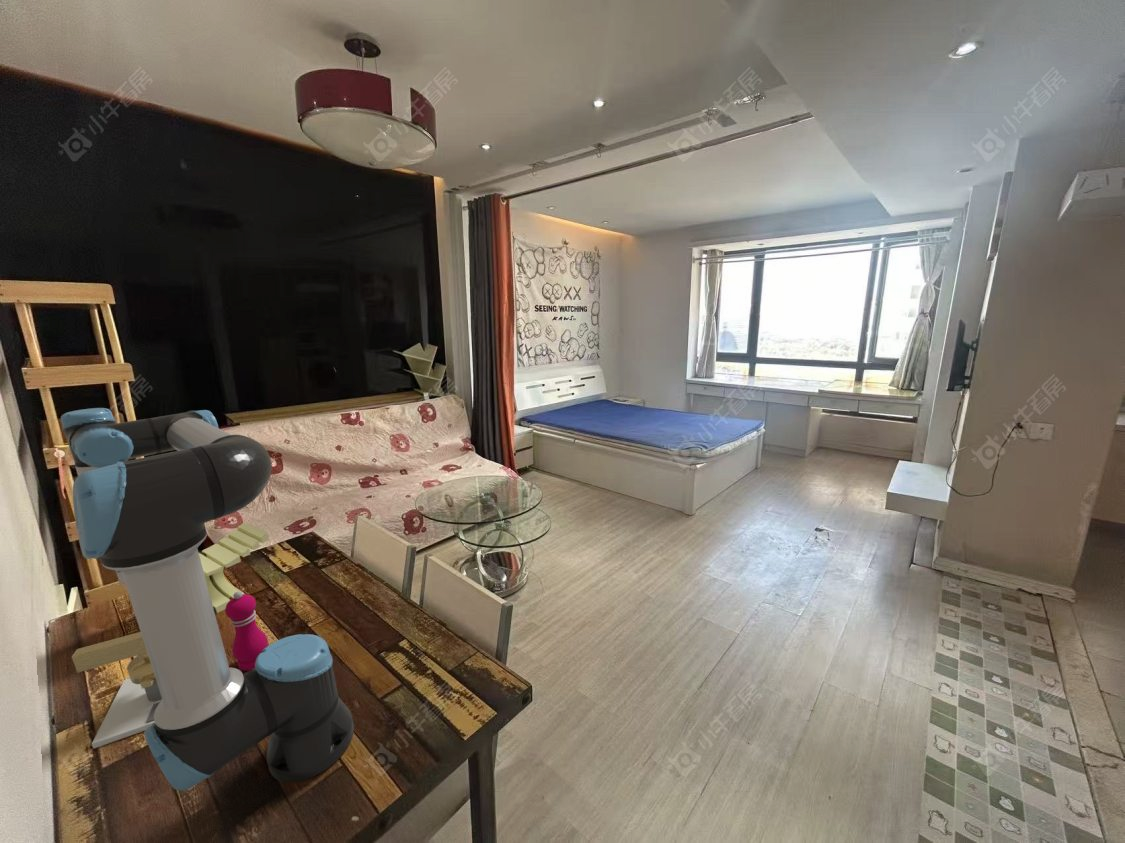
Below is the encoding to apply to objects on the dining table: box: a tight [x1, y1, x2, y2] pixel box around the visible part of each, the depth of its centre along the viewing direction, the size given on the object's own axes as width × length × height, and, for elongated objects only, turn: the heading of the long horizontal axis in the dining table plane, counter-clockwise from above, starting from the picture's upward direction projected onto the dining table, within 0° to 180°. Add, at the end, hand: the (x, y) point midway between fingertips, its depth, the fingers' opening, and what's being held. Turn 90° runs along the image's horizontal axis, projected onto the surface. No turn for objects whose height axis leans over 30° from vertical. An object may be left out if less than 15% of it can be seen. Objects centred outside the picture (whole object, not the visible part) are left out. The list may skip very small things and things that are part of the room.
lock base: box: [91, 677, 162, 749], centre depth 100 cm, size 18×18×7 cm
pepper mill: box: [224, 590, 269, 672], centre depth 108 cm, size 7×7×20 cm
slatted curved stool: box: [198, 522, 270, 614], centre depth 131 cm, size 30×16×18 cm, turn 149°
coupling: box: [71, 631, 156, 689], centre depth 97 cm, size 11×22×10 cm, turn 119°
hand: (135, 572), depth 101 cm, fingers open, 8 cm apart
